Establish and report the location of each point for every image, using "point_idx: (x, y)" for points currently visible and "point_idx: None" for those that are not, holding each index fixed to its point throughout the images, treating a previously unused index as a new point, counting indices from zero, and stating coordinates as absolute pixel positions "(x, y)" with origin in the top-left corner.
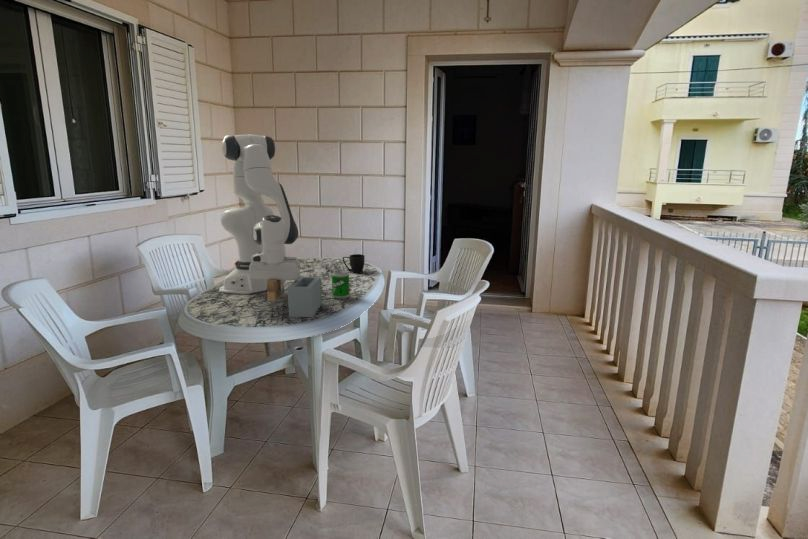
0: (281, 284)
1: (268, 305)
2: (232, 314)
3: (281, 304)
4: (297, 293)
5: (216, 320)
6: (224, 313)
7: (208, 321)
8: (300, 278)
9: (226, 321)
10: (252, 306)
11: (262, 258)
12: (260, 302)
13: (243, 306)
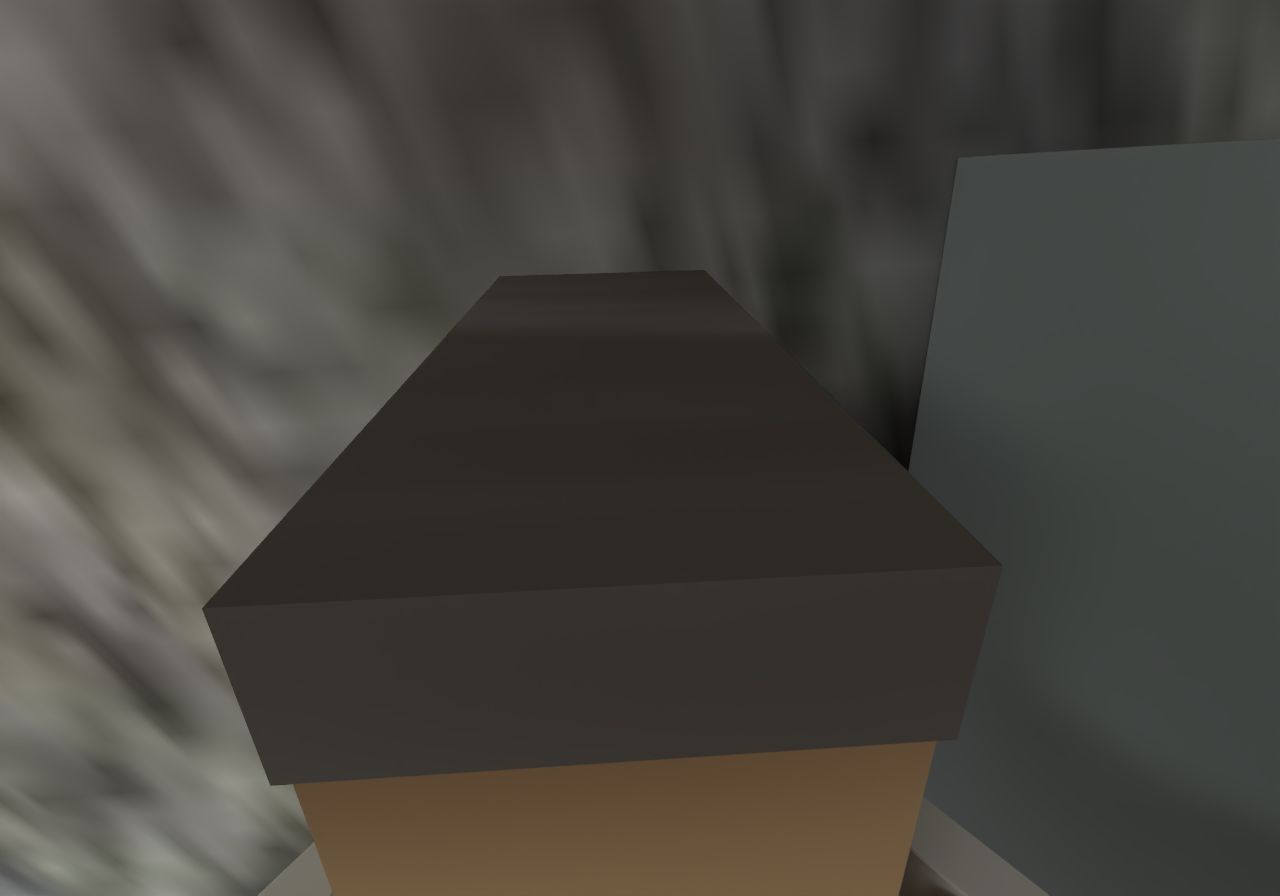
0: None
1: (403, 311)
2: (140, 710)
3: (608, 232)
4: None
5: (118, 864)
6: (7, 691)
7: (61, 890)
8: None
9: (245, 873)
10: (164, 387)
11: None
12: (144, 132)
13: (14, 400)
